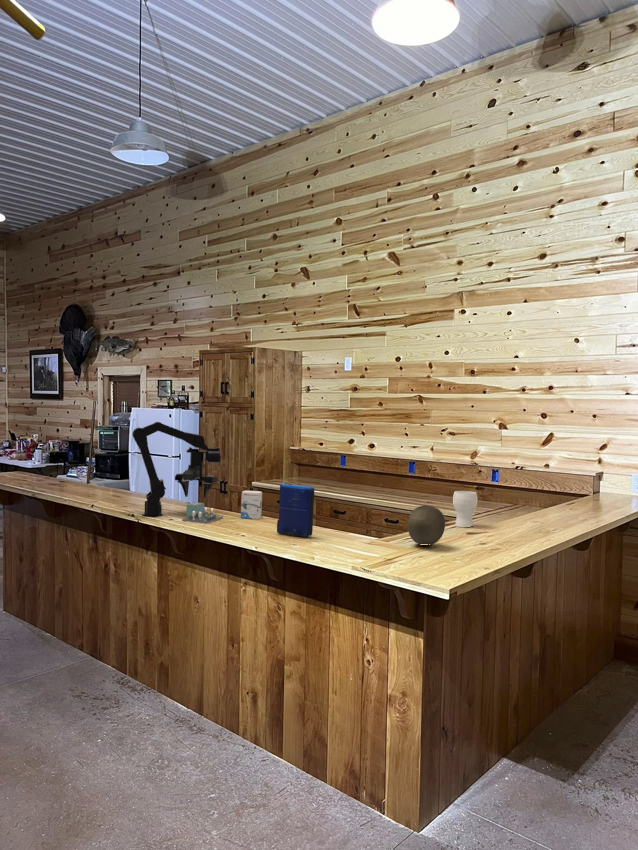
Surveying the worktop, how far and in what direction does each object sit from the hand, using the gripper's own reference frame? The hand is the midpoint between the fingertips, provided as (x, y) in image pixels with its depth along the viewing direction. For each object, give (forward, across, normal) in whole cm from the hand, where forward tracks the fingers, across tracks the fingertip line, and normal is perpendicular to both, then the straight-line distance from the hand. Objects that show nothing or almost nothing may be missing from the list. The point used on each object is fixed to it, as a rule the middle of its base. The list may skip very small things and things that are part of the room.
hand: (195, 497), depth 287 cm
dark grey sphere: (+8, +106, -19) cm, 108 cm away
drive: (+8, 0, 0) cm, 8 cm away
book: (+8, +56, -23) cm, 61 cm away
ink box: (+8, +25, +5) cm, 27 cm away
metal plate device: (+8, +9, -9) cm, 15 cm away
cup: (+8, +115, +32) cm, 120 cm away
